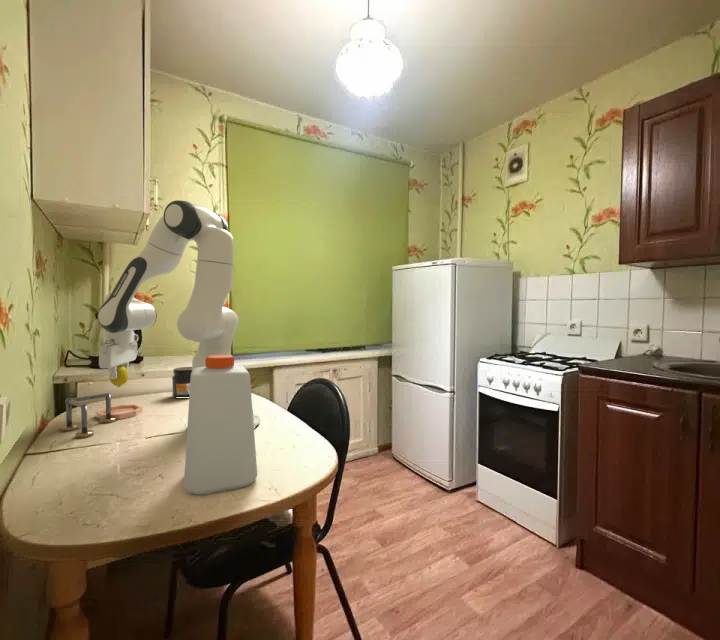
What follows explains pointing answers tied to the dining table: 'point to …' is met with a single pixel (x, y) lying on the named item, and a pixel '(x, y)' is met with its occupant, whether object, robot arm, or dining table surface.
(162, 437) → the dining table surface
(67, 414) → the metal pipe stand
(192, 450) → the plastic bottle
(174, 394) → the supplement container
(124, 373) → the lemon
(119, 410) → the terracotta dish
